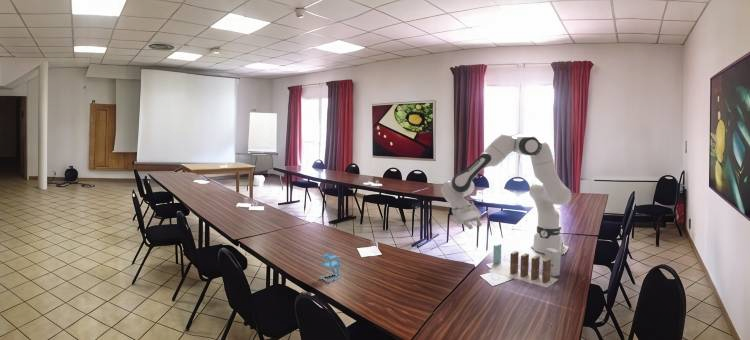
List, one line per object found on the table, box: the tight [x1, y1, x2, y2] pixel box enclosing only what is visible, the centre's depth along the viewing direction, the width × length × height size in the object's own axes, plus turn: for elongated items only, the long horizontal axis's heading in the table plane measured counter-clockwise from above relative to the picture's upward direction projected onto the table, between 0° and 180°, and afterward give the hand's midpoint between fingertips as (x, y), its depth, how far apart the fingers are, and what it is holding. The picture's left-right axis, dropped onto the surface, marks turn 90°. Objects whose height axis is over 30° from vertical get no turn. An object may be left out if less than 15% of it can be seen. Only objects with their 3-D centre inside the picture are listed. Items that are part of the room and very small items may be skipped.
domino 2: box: [509, 250, 520, 275], centre depth 177 cm, size 2×5×10 cm, turn 134°
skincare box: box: [544, 248, 562, 277], centre depth 176 cm, size 6×4×12 cm
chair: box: [319, 252, 342, 283], centre depth 173 cm, size 8×8×12 cm
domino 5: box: [541, 258, 551, 283], centre depth 166 cm, size 2×5×10 cm, turn 134°
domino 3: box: [520, 253, 530, 277], centre depth 173 cm, size 2×5×10 cm, turn 134°
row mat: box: [488, 264, 559, 288], centre depth 174 cm, size 13×28×1 cm, turn 44°
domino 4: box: [530, 255, 541, 280], centre depth 170 cm, size 2×5×10 cm, turn 134°
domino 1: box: [492, 243, 502, 265], centre depth 192 cm, size 2×5×10 cm, turn 134°
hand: (476, 227), depth 199 cm, fingers open, 8 cm apart
